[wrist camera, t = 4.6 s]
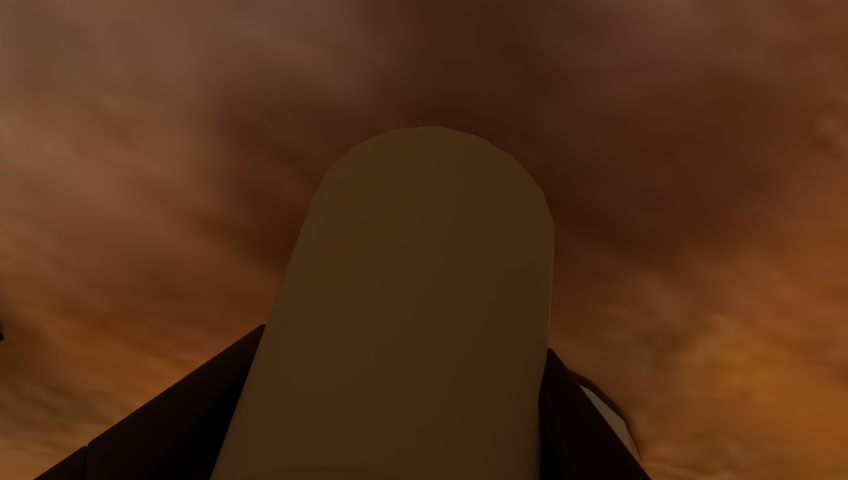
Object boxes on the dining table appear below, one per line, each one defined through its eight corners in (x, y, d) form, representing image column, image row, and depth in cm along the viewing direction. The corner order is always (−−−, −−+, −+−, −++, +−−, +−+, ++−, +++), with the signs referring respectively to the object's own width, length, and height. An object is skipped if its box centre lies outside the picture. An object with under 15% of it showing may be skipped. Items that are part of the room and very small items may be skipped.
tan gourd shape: (579, 138, 11) (1085, 1323, 2) (533, 354, 14) (615, 1200, 5) (300, 113, 12) (-596, 935, 2) (313, 328, 15) (-19, 1056, 5)
